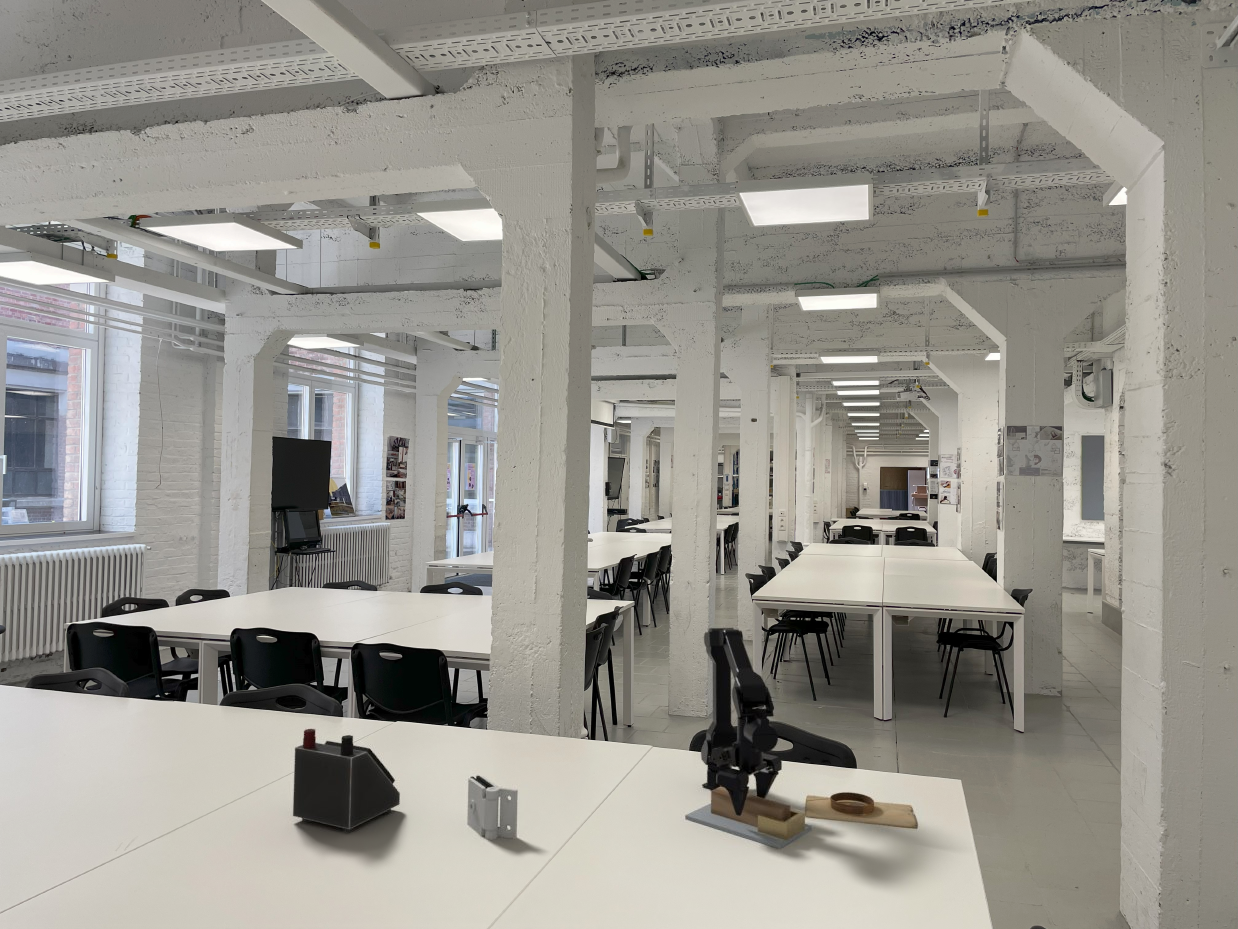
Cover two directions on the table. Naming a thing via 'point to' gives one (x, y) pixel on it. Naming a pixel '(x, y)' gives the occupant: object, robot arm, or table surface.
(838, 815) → the board
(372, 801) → the voltmeter
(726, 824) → the mounting board
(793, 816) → the cup bracket
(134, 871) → the table surface
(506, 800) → the hinge
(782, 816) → the walnut rail
